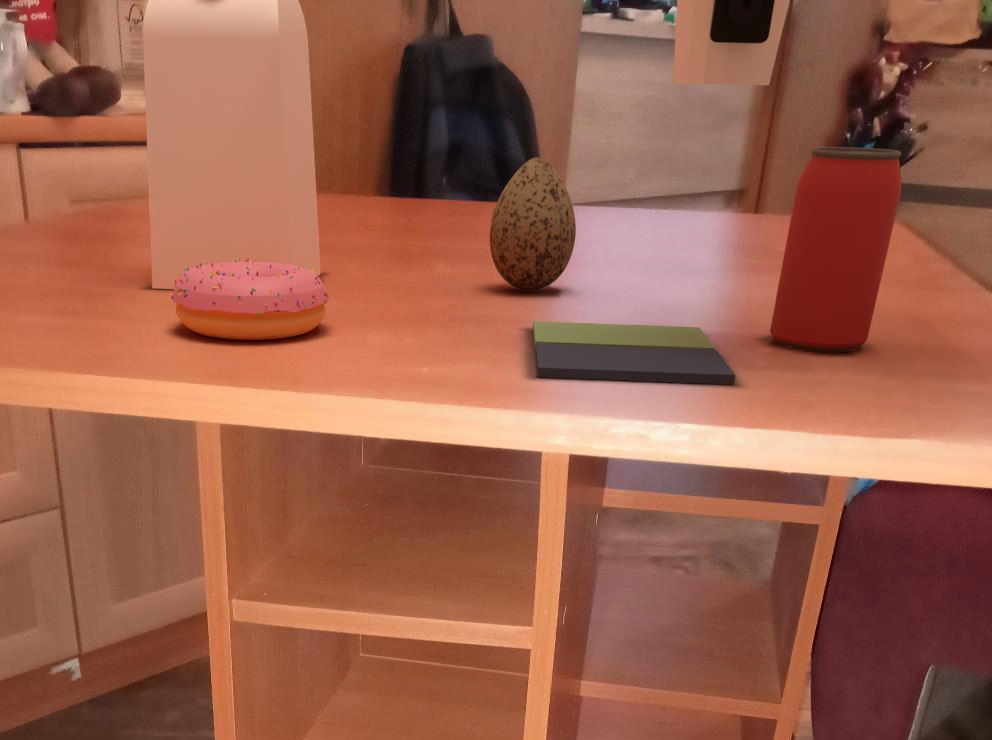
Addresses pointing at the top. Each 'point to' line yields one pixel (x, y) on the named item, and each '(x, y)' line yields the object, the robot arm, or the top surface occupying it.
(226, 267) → the doughnut
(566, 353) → the slate mat
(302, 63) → the milk
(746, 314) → the top surface
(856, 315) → the beer can
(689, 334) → the sage mat
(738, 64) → the cup
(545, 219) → the decorative egg
